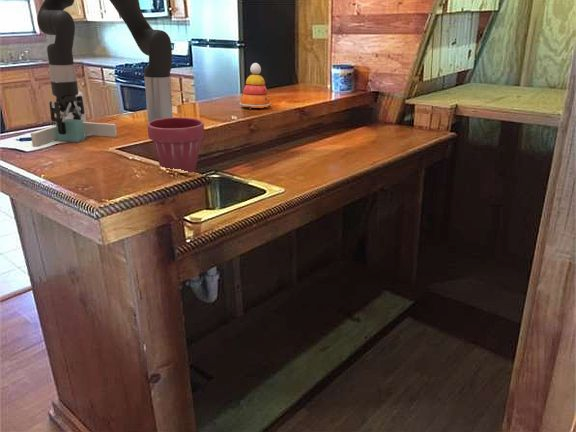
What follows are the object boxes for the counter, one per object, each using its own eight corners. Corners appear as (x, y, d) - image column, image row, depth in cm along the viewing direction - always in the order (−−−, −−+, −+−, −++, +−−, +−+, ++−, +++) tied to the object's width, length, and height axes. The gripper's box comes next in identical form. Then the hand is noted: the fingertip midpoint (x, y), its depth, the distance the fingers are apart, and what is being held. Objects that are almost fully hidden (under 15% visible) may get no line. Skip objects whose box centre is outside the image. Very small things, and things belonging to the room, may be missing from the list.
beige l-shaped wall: (71, 132, 171) (69, 120, 170) (117, 135, 169) (115, 124, 167) (32, 146, 153) (30, 133, 152) (83, 150, 150) (81, 137, 149)
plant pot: (163, 181, 125) (160, 130, 120) (142, 167, 136) (138, 120, 131) (214, 172, 133) (213, 124, 128) (191, 160, 144) (189, 115, 139)
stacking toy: (265, 111, 219) (265, 65, 212) (234, 109, 223) (234, 63, 216) (274, 106, 232) (275, 62, 225) (245, 104, 236) (245, 61, 228)
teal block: (57, 139, 161) (55, 120, 159) (65, 136, 165) (62, 118, 162) (77, 141, 160) (75, 122, 157) (84, 138, 163) (82, 119, 161)
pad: (65, 136, 166) (65, 135, 166) (89, 138, 164) (88, 137, 164) (53, 140, 160) (53, 140, 160) (77, 142, 159) (77, 142, 159)
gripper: (66, 76, 162) (72, 126, 168) (37, 81, 149) (46, 135, 155) (87, 77, 161) (93, 127, 167) (60, 82, 148) (68, 137, 154)
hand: (70, 131), depth 161 cm, fingers open, 8 cm apart
